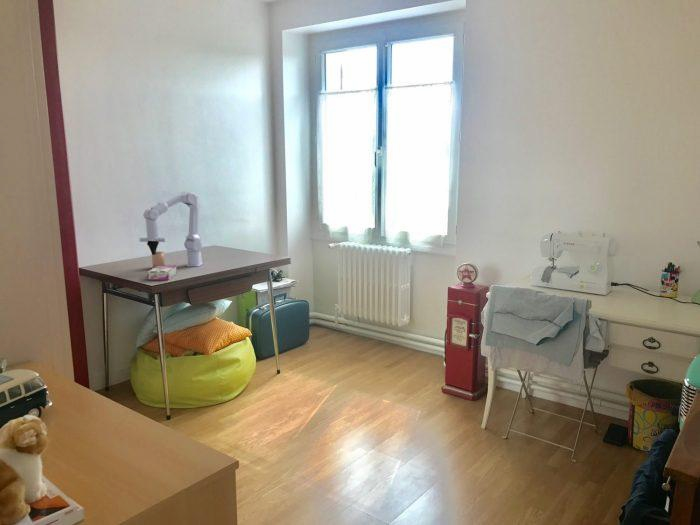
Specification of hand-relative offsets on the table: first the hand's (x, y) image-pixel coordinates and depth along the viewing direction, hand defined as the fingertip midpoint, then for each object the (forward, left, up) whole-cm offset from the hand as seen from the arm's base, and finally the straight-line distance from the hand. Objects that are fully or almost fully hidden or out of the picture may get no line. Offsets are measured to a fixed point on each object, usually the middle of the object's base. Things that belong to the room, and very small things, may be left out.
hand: (153, 254), depth 317 cm
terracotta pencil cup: (-13, -3, -10) cm, 17 cm away
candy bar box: (+3, +8, -8) cm, 12 cm away
